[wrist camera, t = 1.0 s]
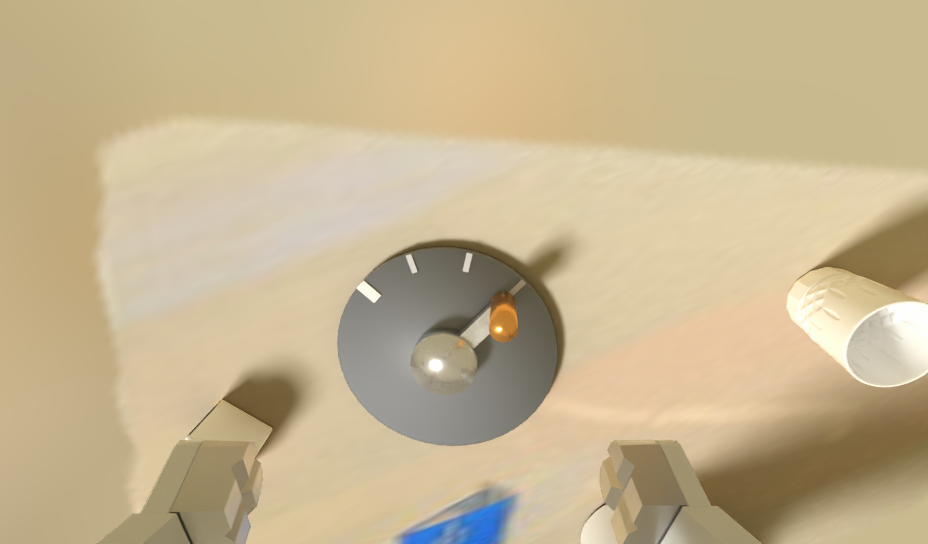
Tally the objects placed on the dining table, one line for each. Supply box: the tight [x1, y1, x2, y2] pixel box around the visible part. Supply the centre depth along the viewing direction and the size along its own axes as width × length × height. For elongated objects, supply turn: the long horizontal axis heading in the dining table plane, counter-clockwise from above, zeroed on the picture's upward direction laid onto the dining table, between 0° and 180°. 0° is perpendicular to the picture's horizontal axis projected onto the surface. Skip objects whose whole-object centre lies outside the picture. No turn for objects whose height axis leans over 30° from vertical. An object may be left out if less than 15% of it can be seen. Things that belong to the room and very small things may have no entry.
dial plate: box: [337, 247, 558, 446], centre depth 53 cm, size 24×24×1 cm
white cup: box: [786, 267, 928, 387], centre depth 44 cm, size 8×8×10 cm
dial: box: [410, 291, 518, 395], centre depth 49 cm, size 14×7×6 cm, turn 138°
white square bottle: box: [185, 400, 272, 457], centre depth 54 cm, size 7×7×12 cm
